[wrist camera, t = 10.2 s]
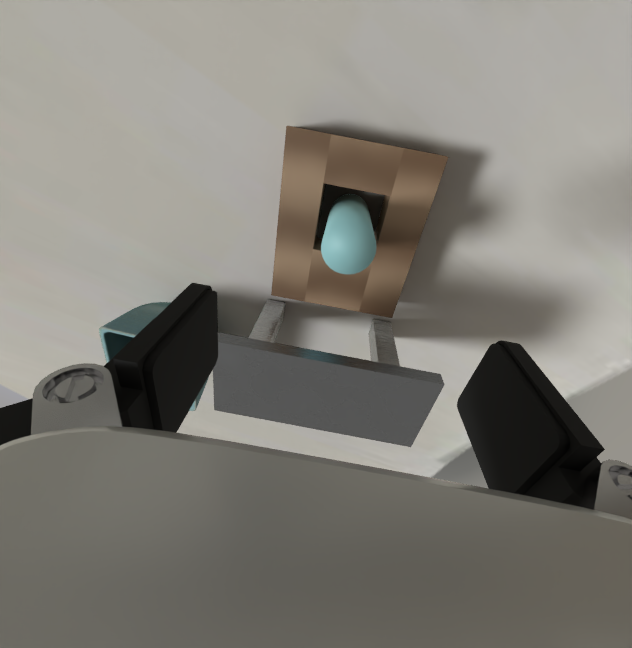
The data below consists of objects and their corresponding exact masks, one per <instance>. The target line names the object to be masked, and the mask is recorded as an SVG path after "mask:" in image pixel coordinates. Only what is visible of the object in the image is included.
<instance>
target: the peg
mask: <svg viewBox="0 0 632 648" xmlns="http://www.w3.org/2000/svg"><path fill="white" fill-rule="evenodd" d="M321 253H322V257H323V259H324V261H325V263H326V264H327V265H328V266H329V267H330V268H331V269H332V270H334V271H335V272H338V273H341V274H355V273H358V272H361V271H363V270H364V269H366V268H367V267H368V266H369V265H370V264H371V262H372V261H373V259H374V257H375V254H376V240H375V235H374V231H373V227H372V223H371V219H370V214H369V210H368V206H367V204H366V202H365V201H364V200H363V199H362V198H361V197H359V196H357V195H354V194H345V195H342V196H340V197H339V198H338V199H336V200H335V202H334V203H333V205H332V207H331V210H330V213H329V217H328V221H327V224H326V228H325V232H324V235H323V239H322V243H321Z"/></svg>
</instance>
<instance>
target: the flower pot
mask: <svg viewBox="0 0 632 648" xmlns="http://www.w3.org/2000/svg"><path fill="white" fill-rule="evenodd" d="M169 304H170V303H167V302H159V303H150V304H145V305H142V306H139V307H137V308H134V309H132V310H131V311H129V312H127V313H125V314H123V315H121V316H120V317H118V318H116V319H115V320H113V321H111V322H109V323H108V324H106V325H104V326H102V327H101V328H99V333H100V338H101V342H102V346H103V349H104V354H105V358H106V362H107V363H108V362H109V361H110V360H111V359H112V358H113V357H114V356H115V355H116V354H117V353H118V352H119V351H120V350H121V349H122V348H124V347H125V346H126V345H127V344H128V343H129V342H130V341H131V340H132V339H133V338H134V337H135V336H136V335H137V334H138V333H139V332H140V331H141V330H142V329H143V328H145V327H146V326H147V325H148V324H149V323H150V322H151V321H152V320H153V319H154V318H156V317H157V316H158V315H159V314H160V313H161V312H162V311H163V310H164V309H165V308H166V307H167V306H168V305H169ZM207 380H208V378H207ZM207 380H206V382H205V384H204V385H203V387H202V389H201V391H200V392H199V394H198V396H197V397H196V399H195V401H194V403H193V404H192V406H191V408H190V410H189V411H195V410H196V408H197V405H198V403H199V400H200V398H201V395H202V393H203V390H204V388H205V385H206V383H207Z"/></svg>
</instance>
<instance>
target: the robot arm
mask: <svg viewBox="0 0 632 648" xmlns="http://www.w3.org/2000/svg"><path fill="white" fill-rule="evenodd" d="M217 359H218V318H217V293H216V291H212V288H211V287H210V286H207V285H202V284H197V283H192V284H190V285H189V286H188V287H187V288H186V289H185V290H184V291H183V292H182V293H181V294H180V295H179V296H178V297H177V298H176V299H175V300H174V301H172V302H171V303H170V304H169V305H168V306H167V307H166V308H165V309H164V310H163V311H162V312H161V313H160V314H159V315H158V316H157V317H156V318H154V319H153V320H152V321H151V322H150V323H149V324H148V325H147V326H146V327H145V328H143V329H142V330H141V331H140V332H139V333H138V334H137V335H136V336H135V337H134V338H133V339H132V340H131V341H130V342H129V343H128V344H127V345H126V346H125V347H124V348H122V349H121V350H120V351H119V352H118V353H117V354H116V355H115V356H114V357H113V358H112V359H111V360H110V361H109V362H108V363H107V364H106V365H105V366H104V367H103V366H101V365H97V364H77V365H72V366H68V367H65V368H62V369H59V370H57V371H55V372H53V373H51V374H49V375H48V376H47V377H45V378H44V379H43V380H41V381H40V383H39V384H38V385H37V386H36V387H35V390H34V393H33V399H29V400H26V401H23V402H19V403H16V404H13V405H9V406H6V407H3V408H0V648H632V466H631V465H629V464H626V463H623V462H621V461H617V460H606V461H604V462H602V463H600V461H599V460H598V459H597V456H598V455H599V454H600V453H601V452H602V451H604V450H605V449H604V448H603V447H602V445H601V444H600V443H599V442H598V440H597V439H596V438H595V437H594V435H593V434H592V433H591V432H590V431H589V429H588V428H587V427H586V425H585V424H584V423H583V422H582V420H581V419H580V418H579V417H578V415H577V414H576V413H575V412H574V411H573V409H572V408H571V407H570V406H569V404H568V403H567V402H566V401H565V399H564V398H563V397H562V396H561V394H560V393H559V392H558V391H557V389H556V388H555V387H554V386H553V384H552V383H551V382H550V381H549V379H548V378H547V377H546V376H545V374H544V373H543V372H542V371H541V369H540V368H539V367H538V366H537V364H536V363H535V362H534V361H533V360H532V358H531V357H530V356H529V355H528V353H527V352H526V351H525V350H524V348H523V347H522V346H521V345H520V344H517V343H512V342H507V341H498V342H497V343H496V344H492V345H491V346H490V347H489V348H488V350H487V352H486V353H485V355H484V357H483V358H482V360H481V362H480V363H479V365H478V367H477V369H476V370H475V372H474V374H473V375H472V377H471V379H470V380H469V382H468V384H467V385H466V387H465V389H464V390H463V392H462V394H461V395H460V397H459V399H458V402H457V408H458V411H459V413H460V416H461V419H462V421H463V424H464V426H465V429H466V431H467V434H468V436H469V439H470V442H471V444H472V447H473V449H474V452H475V454H476V457H477V459H478V462H479V465H480V467H481V470H482V472H483V475H484V477H485V480H486V483H487V485H488V488H489V489H487V488H482V487H477V486H472V485H467V484H461V483H456V482H451V481H446V480H440V479H435V478H430V477H424V476H419V475H413V474H408V473H402V472H397V471H392V470H386V469H381V468H375V467H370V466H364V465H359V464H353V463H348V462H342V461H337V460H331V459H326V458H320V457H315V456H309V455H304V454H298V453H292V452H287V451H281V450H275V449H270V448H264V447H259V446H253V445H247V444H242V443H236V442H231V441H225V440H218V439H212V438H206V437H200V436H194V435H187V434H181V433H176V432H177V430H178V429H179V427H180V425H181V423H182V422H183V420H184V418H185V417H186V415H187V413H188V411H189V410H190V408H191V406H192V404H193V403H194V401H195V399H196V397H197V396H198V394H199V392H200V391H201V389H202V387H203V385H204V384H205V382H206V380H207V378H208V377H209V375H210V373H211V371H212V370H213V368H214V366H215V365H216V362H217Z"/></svg>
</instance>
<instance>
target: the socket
mask: <svg viewBox="0 0 632 648" xmlns="http://www.w3.org/2000/svg"><path fill="white" fill-rule="evenodd" d="M447 160H448V157H447V156H443V155H438V154H434V153H428V152H423V151H418V150H413V149H407V148H402V147H397V146H392V145H387V144H381V143H376V142H371V141H366V140H360V139H355V138H350V137H345V136H340V135H334V134H329V133H324V132H319V131H313V130H308V129H303V128H298V127H292V126H287V127H286V138H285V149H284V160H283V172H282V183H281V194H280V205H279V216H278V227H277V238H276V249H275V260H274V272H273V283H272V294H271V295H273V296H279V297H284V298H289V299H294V300H300V301H305V302H310V303H316V304H321V305H326V306H331V307H337V308H342V309H347V310H352V311H358V312H363V313H368V314H374V315H379V316H384V317H389V318H392V317H393V314H394V311H395V308H396V305H397V302H398V300H399V297H400V294H401V291H402V288H403V285H404V282H405V280H406V277H407V274H408V271H409V268H410V265H411V262H412V260H413V257H414V254H415V251H416V248H417V245H418V243H419V240H420V237H421V234H422V231H423V228H424V225H425V223H426V220H427V217H428V214H429V211H430V208H431V205H432V203H433V200H434V197H435V194H436V191H437V188H438V185H439V183H440V180H441V177H442V174H443V171H444V168H445V165H446V163H447ZM325 184H330V185H335V186H340V187H346V188H351V189H356V190H361V191H367V192H372V193H377V194H382V195H385V197H384V200H383V204H382V208H381V212H380V215H379V219H378V223H377V227H376V230H375V234H374V235H375V240H376V254H375V257H374V259H373V261H372V262H371V264H370V265H369V266H368V267H367V268H366V269H364V270H363V271H361V272H358V273H355V274H341V273H338V272H335V271H334V270H332V269H331V268H330V267H329V266H328V265H327V264H326V263H325V261H324V259H323V257H322V253H321V243H322V239H320V238H317V233H318V227H319V221H320V214H321V208H322V202H323V196H324V190H325Z"/></svg>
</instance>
